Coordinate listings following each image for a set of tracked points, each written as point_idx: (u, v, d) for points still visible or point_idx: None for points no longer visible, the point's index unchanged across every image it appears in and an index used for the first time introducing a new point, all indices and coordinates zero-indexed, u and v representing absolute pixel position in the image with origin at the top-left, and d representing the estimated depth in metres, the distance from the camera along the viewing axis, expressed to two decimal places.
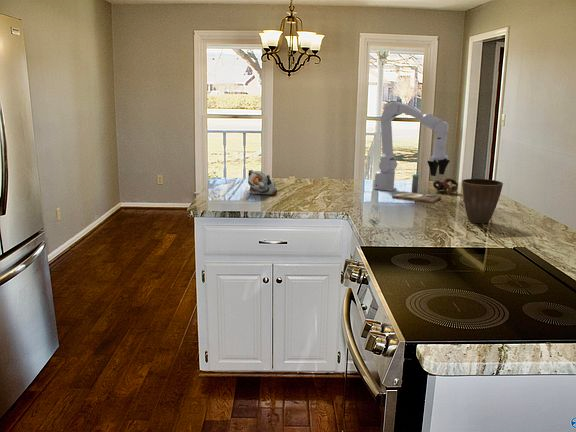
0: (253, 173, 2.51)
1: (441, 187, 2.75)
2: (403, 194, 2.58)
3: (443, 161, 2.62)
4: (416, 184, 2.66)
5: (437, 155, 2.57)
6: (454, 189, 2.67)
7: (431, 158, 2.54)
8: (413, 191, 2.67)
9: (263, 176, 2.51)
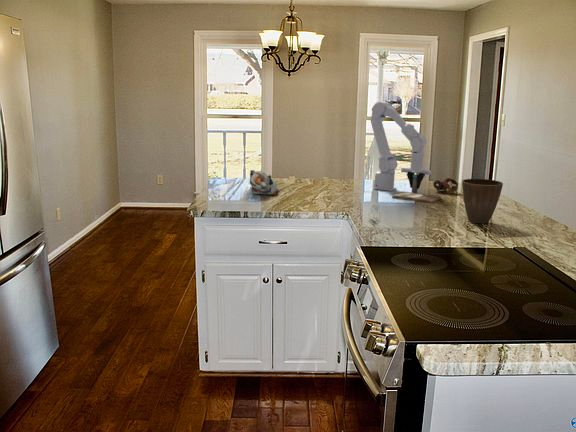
0: (255, 173, 2.51)
1: (441, 187, 2.75)
2: (403, 194, 2.58)
3: None
4: (416, 184, 2.66)
5: None
6: (454, 189, 2.68)
7: None
8: (413, 191, 2.67)
9: (265, 176, 2.51)
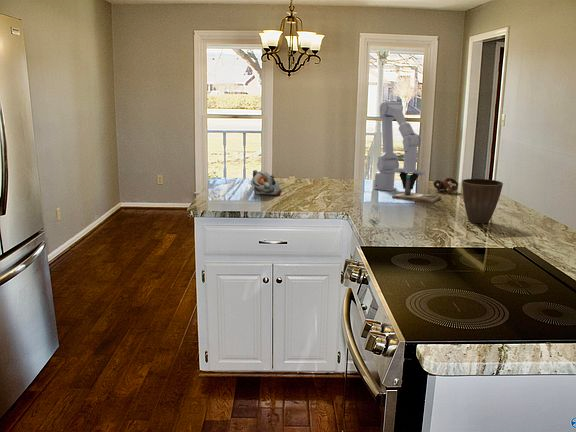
0: (258, 173, 2.51)
1: (441, 186, 2.76)
2: (403, 194, 2.58)
3: None
4: (409, 185, 2.55)
5: None
6: (454, 188, 2.69)
7: None
8: (406, 192, 2.56)
9: (268, 176, 2.50)
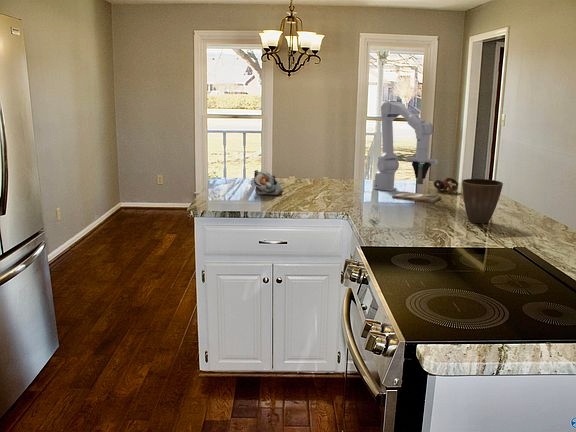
0: (259, 173, 2.51)
1: (441, 186, 2.77)
2: (403, 194, 2.58)
3: None
4: (422, 174, 2.52)
5: None
6: (455, 188, 2.69)
7: None
8: (418, 181, 2.53)
9: (270, 176, 2.50)
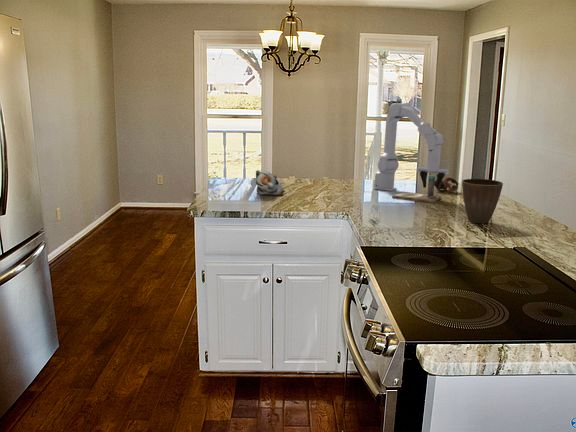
0: (261, 173, 2.51)
1: (441, 186, 2.77)
2: (403, 194, 2.58)
3: None
4: (432, 186, 2.53)
5: None
6: (455, 188, 2.70)
7: None
8: (429, 193, 2.54)
9: (271, 176, 2.50)
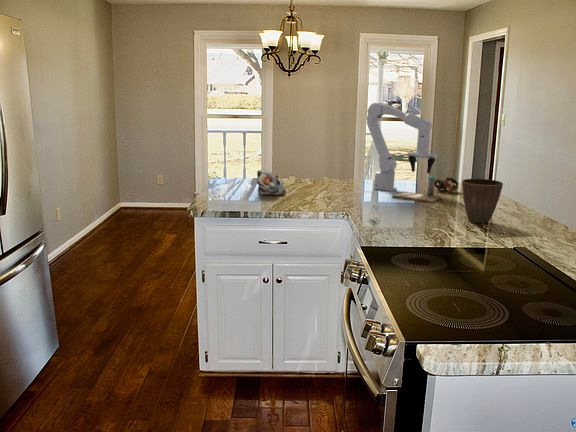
0: (263, 173, 2.50)
1: (441, 186, 2.78)
2: (403, 194, 2.58)
3: None
4: (432, 186, 2.53)
5: (416, 152, 2.65)
6: (455, 188, 2.70)
7: None
8: (429, 193, 2.54)
9: (273, 176, 2.50)
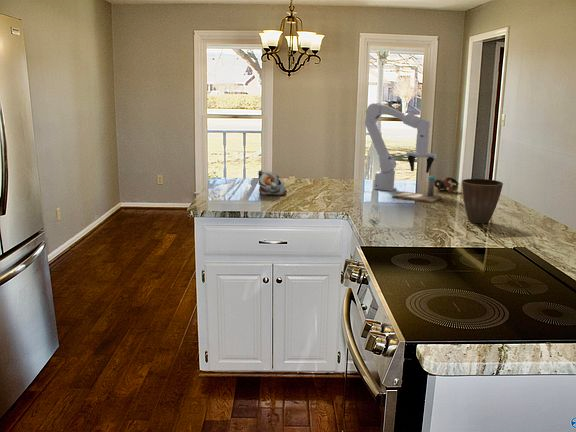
0: (264, 174, 2.50)
1: (441, 186, 2.78)
2: (403, 194, 2.58)
3: None
4: (432, 186, 2.53)
5: None
6: (455, 188, 2.71)
7: None
8: (429, 193, 2.54)
9: (274, 176, 2.50)
